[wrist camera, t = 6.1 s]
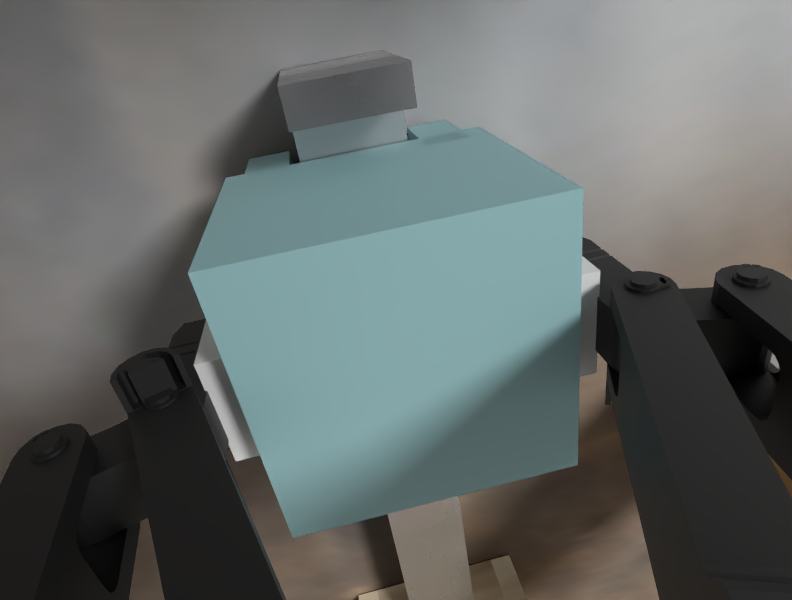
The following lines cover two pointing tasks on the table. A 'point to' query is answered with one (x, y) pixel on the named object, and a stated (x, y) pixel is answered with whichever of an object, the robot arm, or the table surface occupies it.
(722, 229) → the table surface
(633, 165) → the table surface
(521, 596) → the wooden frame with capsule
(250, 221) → the block
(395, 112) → the rail
